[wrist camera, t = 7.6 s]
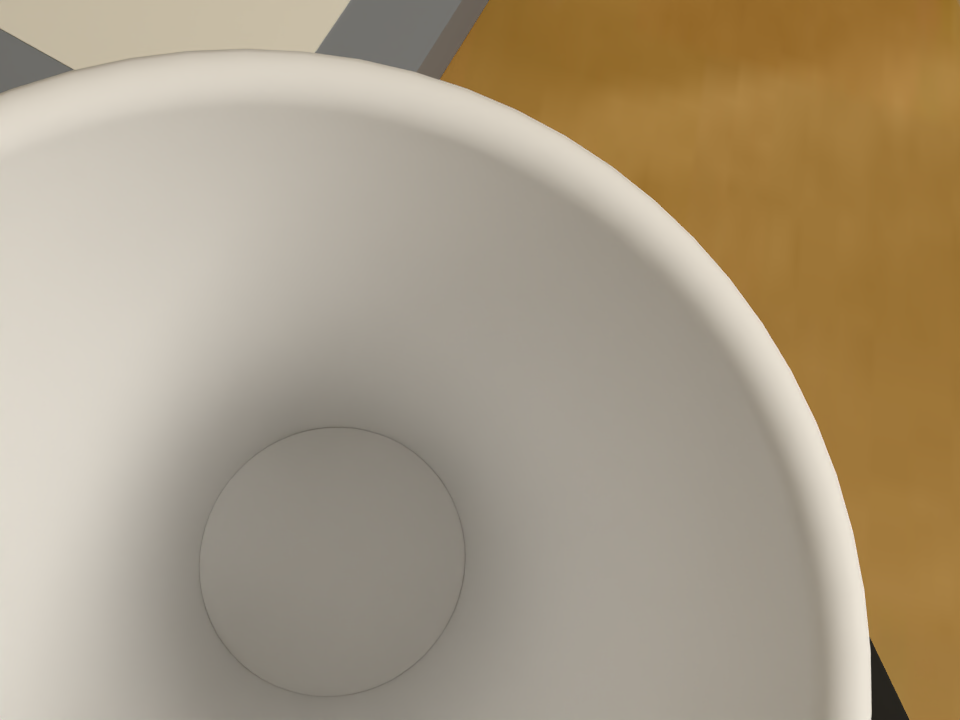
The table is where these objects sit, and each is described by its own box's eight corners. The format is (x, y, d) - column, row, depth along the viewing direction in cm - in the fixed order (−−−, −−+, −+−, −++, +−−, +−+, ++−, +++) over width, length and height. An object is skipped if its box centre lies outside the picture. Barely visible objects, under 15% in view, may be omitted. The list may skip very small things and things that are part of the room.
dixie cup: (92, 785, 14) (-734, 1587, 4) (139, 341, 16) (-346, -23, 5) (539, 779, 15) (930, 1397, 5) (544, 361, 17) (849, 92, 6)
